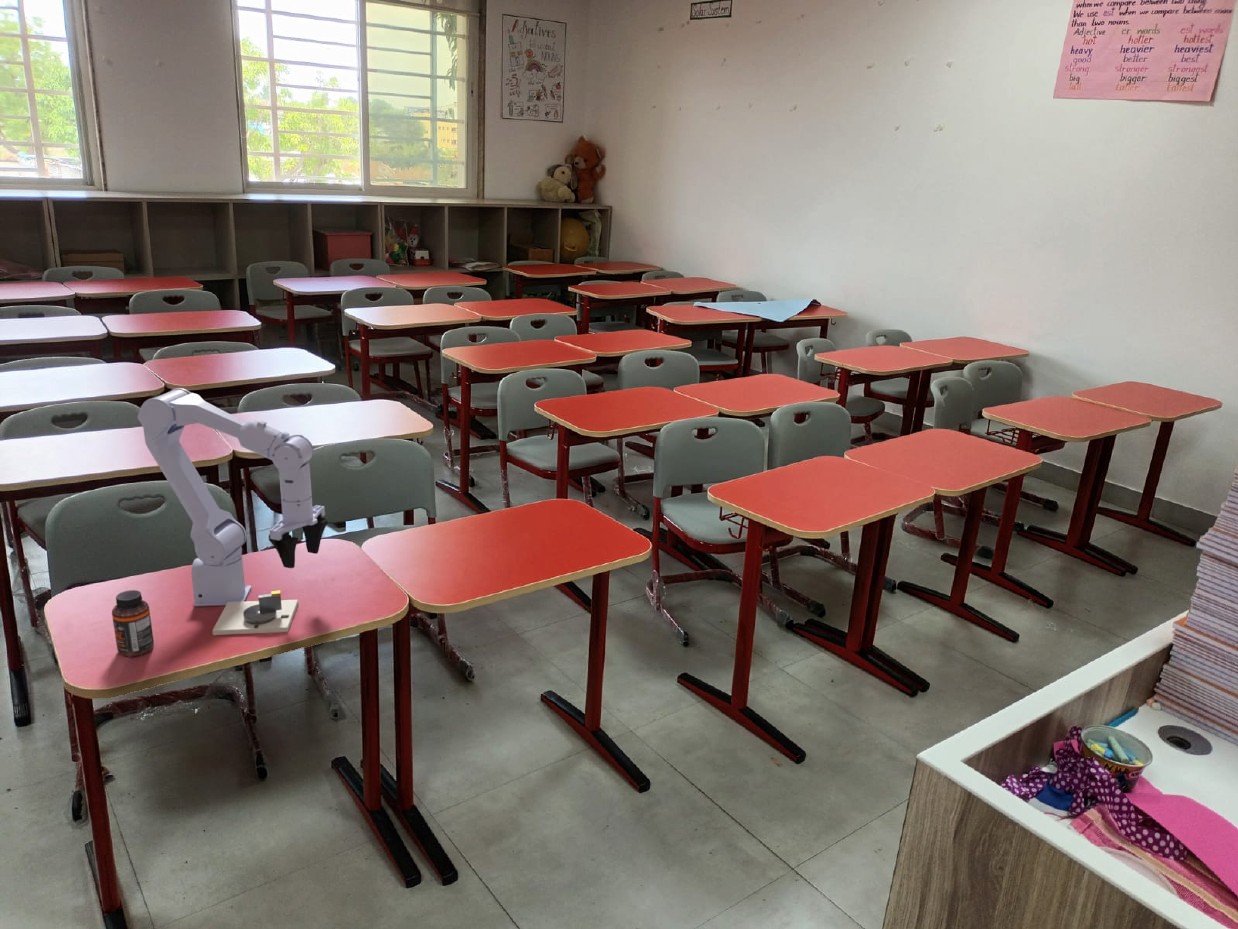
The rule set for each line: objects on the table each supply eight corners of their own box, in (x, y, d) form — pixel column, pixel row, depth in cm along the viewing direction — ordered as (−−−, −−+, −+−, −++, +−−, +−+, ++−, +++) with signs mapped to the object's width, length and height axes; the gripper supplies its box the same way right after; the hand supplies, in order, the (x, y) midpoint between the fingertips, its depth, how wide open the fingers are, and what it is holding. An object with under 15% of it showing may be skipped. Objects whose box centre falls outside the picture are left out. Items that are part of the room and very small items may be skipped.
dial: (243, 625, 167) (241, 603, 165) (244, 611, 172) (241, 589, 170) (282, 620, 169) (280, 598, 168) (281, 606, 174) (279, 585, 173)
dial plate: (213, 635, 165) (212, 629, 165) (228, 606, 176) (227, 600, 176) (287, 632, 168) (287, 626, 167) (298, 603, 179) (297, 598, 178)
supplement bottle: (111, 651, 158) (102, 595, 155) (143, 638, 163) (135, 584, 160) (128, 661, 155) (120, 605, 152) (161, 648, 160) (153, 593, 156)
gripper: (289, 512, 164) (294, 577, 168) (335, 488, 177) (339, 549, 181) (258, 506, 166) (264, 571, 170) (306, 483, 179) (311, 543, 183)
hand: (301, 559), depth 176 cm, fingers open, 7 cm apart
